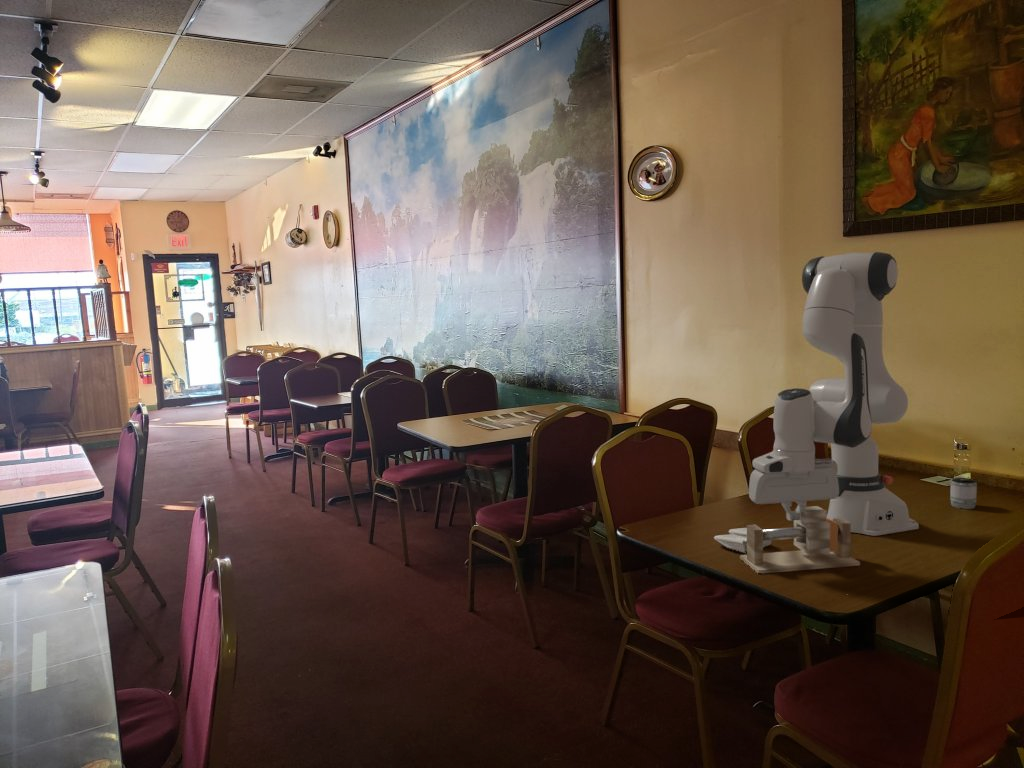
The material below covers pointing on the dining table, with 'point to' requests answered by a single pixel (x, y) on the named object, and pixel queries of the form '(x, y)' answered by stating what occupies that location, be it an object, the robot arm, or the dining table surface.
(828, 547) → the sleeve
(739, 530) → the pair of white wedges
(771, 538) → the pipe
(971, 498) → the grey cylinder
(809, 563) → the stand
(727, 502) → the dining table surface
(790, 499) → the robot arm
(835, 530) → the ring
